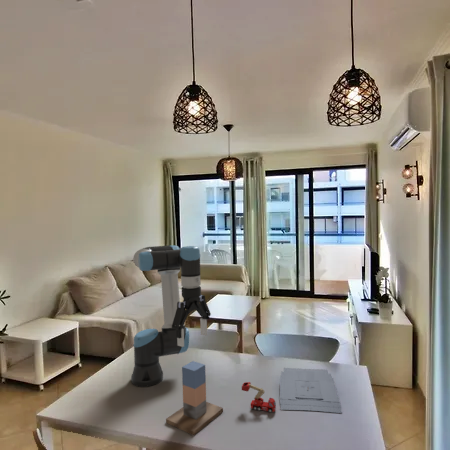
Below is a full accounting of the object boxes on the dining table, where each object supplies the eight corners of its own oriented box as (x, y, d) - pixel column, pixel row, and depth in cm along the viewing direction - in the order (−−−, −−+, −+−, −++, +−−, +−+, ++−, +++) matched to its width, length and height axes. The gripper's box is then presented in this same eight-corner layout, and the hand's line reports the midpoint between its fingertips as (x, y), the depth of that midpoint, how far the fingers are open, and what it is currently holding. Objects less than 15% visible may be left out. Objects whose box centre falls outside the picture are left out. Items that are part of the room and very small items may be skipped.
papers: (331, 375, 167) (331, 367, 166) (342, 419, 138) (342, 411, 137) (279, 372, 171) (279, 365, 170) (280, 415, 141) (280, 407, 141)
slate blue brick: (182, 384, 136) (182, 366, 136) (193, 377, 142) (192, 361, 141) (195, 389, 133) (194, 371, 132) (205, 382, 138) (205, 364, 138)
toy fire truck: (275, 413, 139) (274, 389, 138) (241, 408, 143) (241, 384, 143) (276, 408, 142) (276, 385, 141) (244, 403, 146) (243, 381, 146)
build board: (166, 422, 134) (165, 406, 134) (196, 401, 149) (196, 386, 149) (193, 435, 126) (193, 418, 126) (223, 411, 141) (222, 395, 141)
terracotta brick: (183, 402, 137) (182, 384, 136) (193, 394, 142) (193, 378, 142) (195, 407, 133) (195, 389, 133) (206, 399, 138) (205, 382, 138)
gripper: (175, 294, 123) (177, 353, 124) (218, 281, 143) (219, 332, 144) (160, 291, 128) (162, 348, 129) (204, 279, 148) (205, 329, 149)
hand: (192, 340), depth 136 cm, fingers open, 13 cm apart
